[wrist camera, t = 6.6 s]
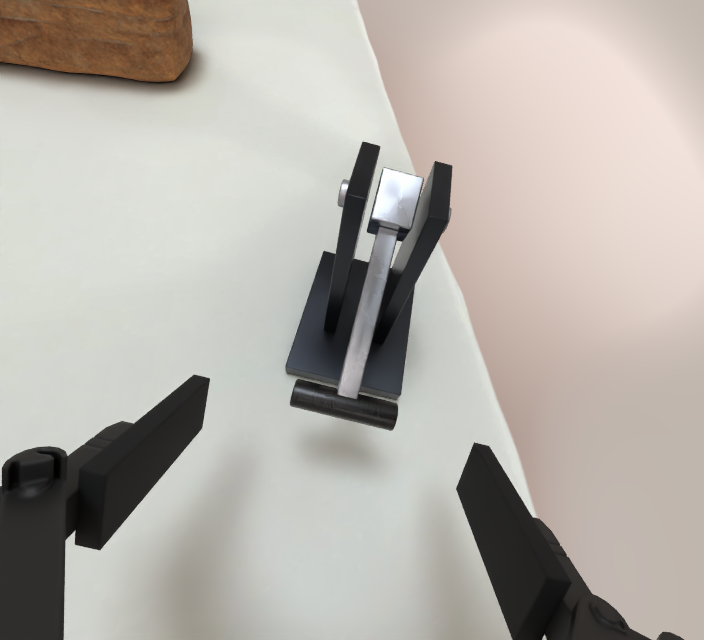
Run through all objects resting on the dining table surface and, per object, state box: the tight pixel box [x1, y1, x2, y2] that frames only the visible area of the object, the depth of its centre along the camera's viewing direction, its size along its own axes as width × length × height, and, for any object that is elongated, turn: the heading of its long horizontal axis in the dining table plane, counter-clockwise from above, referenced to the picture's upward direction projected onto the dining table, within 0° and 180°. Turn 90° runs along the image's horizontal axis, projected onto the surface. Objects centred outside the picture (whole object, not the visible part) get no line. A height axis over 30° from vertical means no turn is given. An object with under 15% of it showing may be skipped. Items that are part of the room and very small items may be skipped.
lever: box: [290, 168, 424, 431], centre depth 18 cm, size 13×6×2 cm, turn 168°
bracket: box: [286, 142, 452, 400], centre depth 23 cm, size 12×9×15 cm
